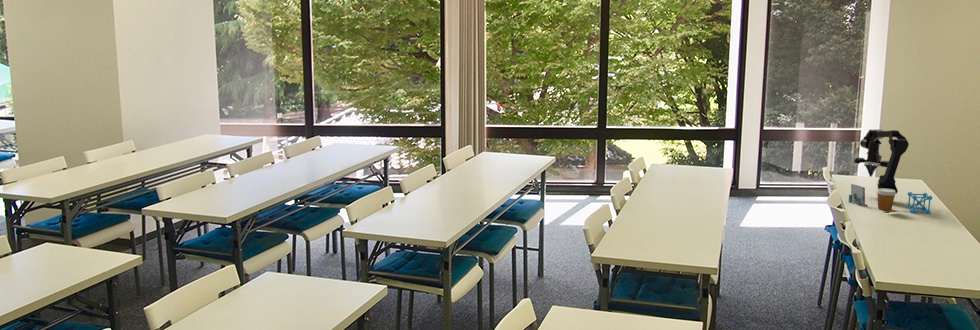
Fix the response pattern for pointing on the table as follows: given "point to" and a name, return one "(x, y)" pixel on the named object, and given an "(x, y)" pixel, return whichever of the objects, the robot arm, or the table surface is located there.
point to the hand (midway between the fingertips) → (870, 176)
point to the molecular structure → (919, 202)
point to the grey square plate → (858, 193)
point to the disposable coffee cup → (885, 199)
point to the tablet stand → (857, 200)
